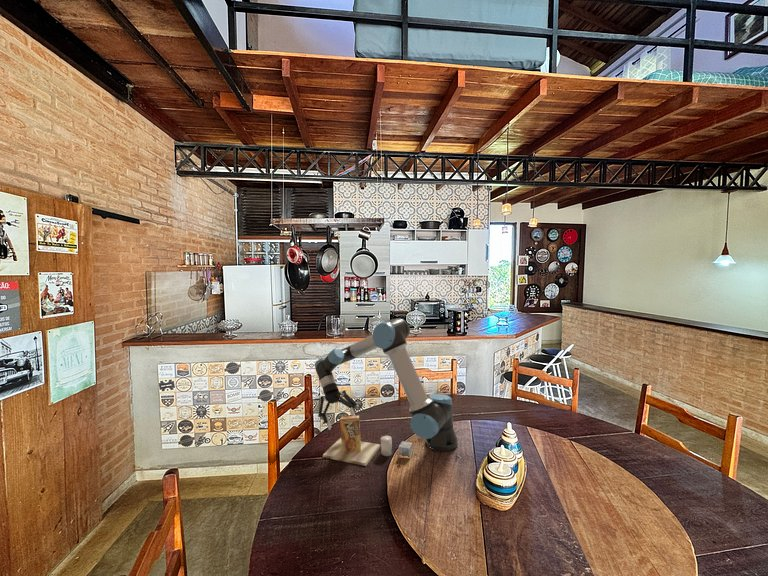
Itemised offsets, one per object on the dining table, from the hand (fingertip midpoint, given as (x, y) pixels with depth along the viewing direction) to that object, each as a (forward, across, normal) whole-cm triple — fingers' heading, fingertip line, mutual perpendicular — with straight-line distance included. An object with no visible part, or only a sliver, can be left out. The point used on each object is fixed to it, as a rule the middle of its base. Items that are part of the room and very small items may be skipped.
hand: (343, 424), depth 158 cm
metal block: (+26, -18, +11) cm, 33 cm away
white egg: (+21, -13, +6) cm, 25 cm away
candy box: (+12, 0, -1) cm, 12 cm away
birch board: (+13, 0, -1) cm, 13 cm away
